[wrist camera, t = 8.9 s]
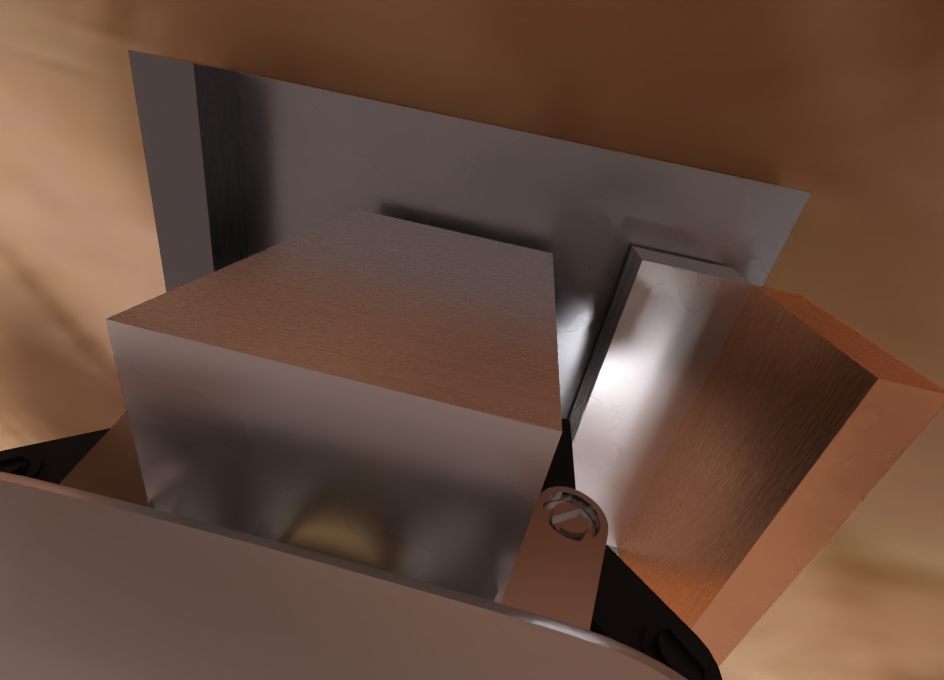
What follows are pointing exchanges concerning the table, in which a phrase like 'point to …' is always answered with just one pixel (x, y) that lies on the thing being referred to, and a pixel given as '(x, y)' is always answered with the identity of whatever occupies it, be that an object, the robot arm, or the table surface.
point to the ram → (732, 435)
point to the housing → (355, 397)
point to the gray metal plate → (430, 188)
